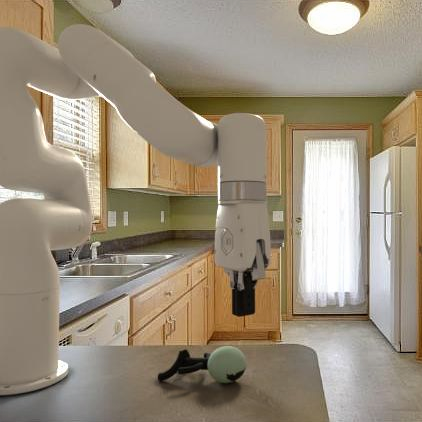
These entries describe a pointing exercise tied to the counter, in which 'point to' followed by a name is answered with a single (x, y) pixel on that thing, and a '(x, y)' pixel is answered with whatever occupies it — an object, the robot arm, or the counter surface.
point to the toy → (210, 364)
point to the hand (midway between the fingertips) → (243, 314)
